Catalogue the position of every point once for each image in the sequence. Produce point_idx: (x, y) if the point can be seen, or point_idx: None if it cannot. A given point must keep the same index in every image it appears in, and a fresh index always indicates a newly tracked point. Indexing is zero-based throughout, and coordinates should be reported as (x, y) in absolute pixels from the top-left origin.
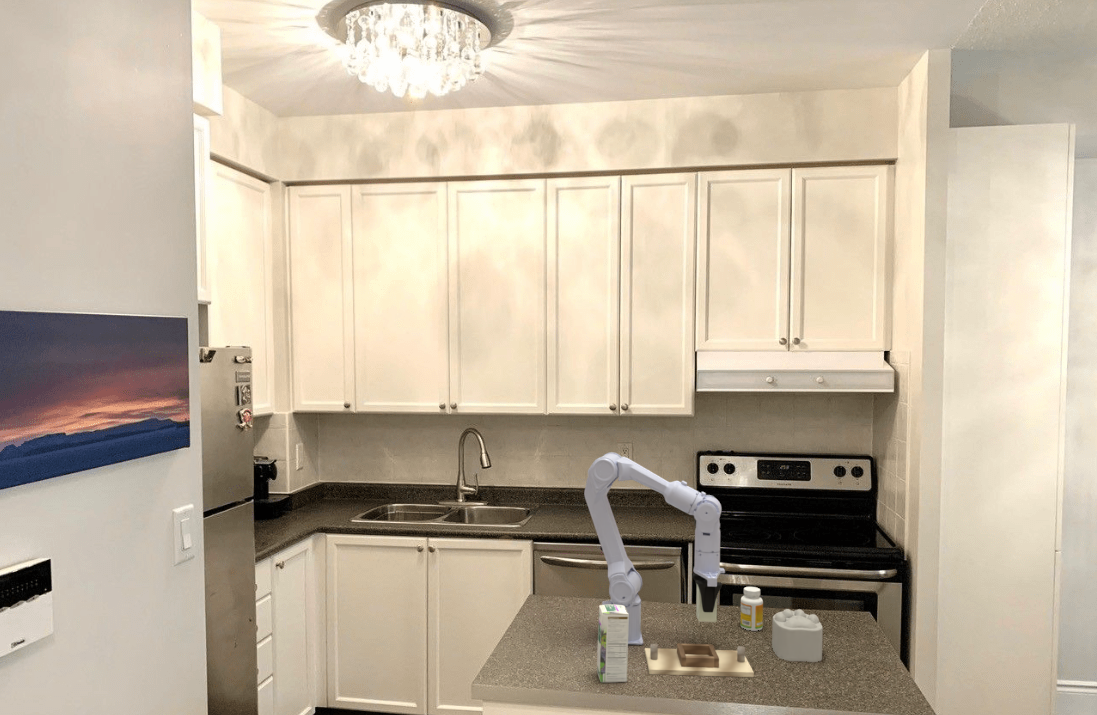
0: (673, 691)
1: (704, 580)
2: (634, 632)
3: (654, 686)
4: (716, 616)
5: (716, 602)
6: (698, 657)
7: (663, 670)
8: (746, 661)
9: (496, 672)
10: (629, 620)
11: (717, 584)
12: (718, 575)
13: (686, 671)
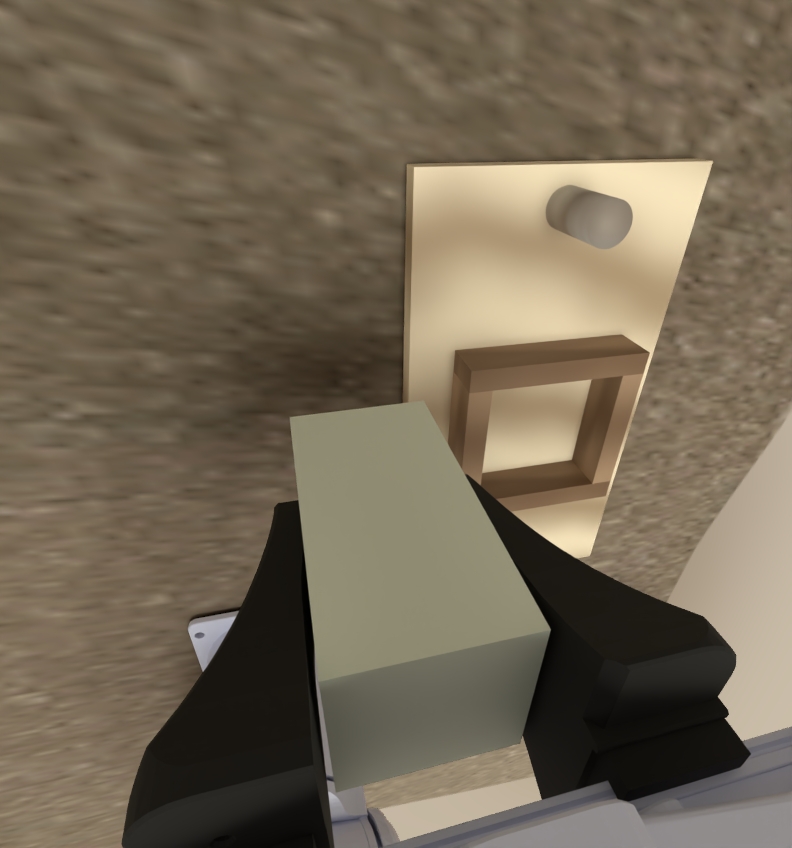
0: (709, 475)
1: (322, 767)
2: None
3: (663, 523)
4: (436, 424)
5: (475, 500)
6: (619, 437)
7: (599, 519)
8: (575, 173)
9: (525, 771)
10: None
11: (708, 684)
12: (766, 818)
13: (619, 453)
